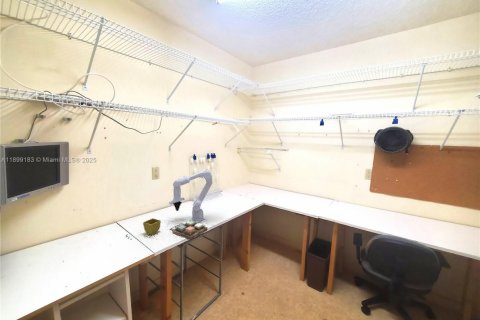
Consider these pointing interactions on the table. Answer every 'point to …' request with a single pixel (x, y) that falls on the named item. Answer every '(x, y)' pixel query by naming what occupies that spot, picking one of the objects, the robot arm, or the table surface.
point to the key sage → (190, 223)
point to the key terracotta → (190, 229)
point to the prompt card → (176, 227)
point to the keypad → (189, 235)
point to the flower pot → (152, 226)
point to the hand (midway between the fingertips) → (177, 210)
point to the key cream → (198, 225)
